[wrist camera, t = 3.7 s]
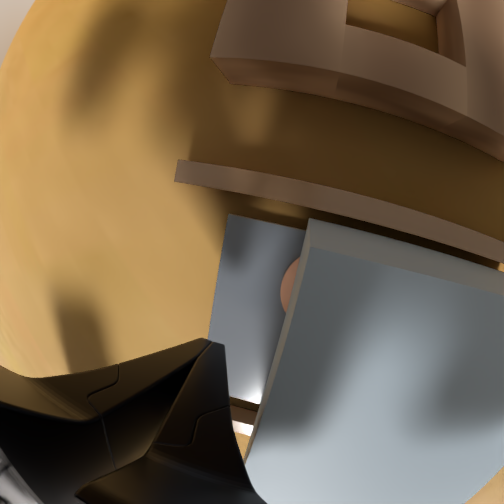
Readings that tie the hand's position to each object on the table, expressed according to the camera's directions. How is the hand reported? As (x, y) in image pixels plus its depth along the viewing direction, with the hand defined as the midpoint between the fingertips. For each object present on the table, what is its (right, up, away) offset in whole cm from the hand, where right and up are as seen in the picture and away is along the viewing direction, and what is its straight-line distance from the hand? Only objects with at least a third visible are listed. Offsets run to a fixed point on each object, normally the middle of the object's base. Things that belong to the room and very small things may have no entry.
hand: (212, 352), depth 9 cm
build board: (+8, +16, -2) cm, 18 cm away
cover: (+7, -1, +2) cm, 7 cm away
